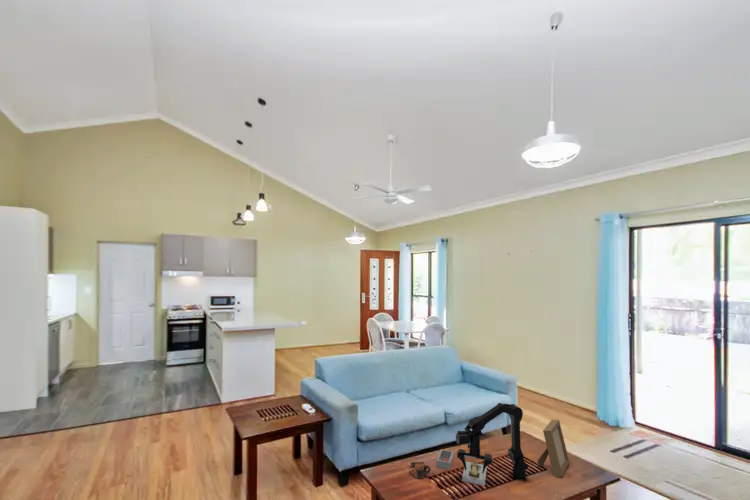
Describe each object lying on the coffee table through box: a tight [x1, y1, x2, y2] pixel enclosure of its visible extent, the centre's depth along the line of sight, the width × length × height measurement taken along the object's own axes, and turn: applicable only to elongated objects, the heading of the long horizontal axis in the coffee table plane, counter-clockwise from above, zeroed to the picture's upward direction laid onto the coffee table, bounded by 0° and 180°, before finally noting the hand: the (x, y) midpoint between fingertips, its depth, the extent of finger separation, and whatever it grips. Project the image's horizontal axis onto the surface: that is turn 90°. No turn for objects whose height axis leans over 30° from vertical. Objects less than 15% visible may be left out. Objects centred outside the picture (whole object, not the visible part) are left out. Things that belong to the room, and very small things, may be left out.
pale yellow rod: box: [471, 462, 479, 478], centre depth 213 cm, size 4×4×8 cm
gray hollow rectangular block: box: [436, 449, 454, 471], centre depth 230 cm, size 8×15×4 cm, turn 161°
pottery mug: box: [409, 461, 432, 479], centre depth 216 cm, size 12×10×8 cm
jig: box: [461, 461, 488, 487], centre depth 217 cm, size 12×18×2 cm, turn 161°
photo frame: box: [536, 419, 570, 478], centre depth 230 cm, size 15×22×25 cm
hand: (474, 471), depth 213 cm, fingers open, 9 cm apart
